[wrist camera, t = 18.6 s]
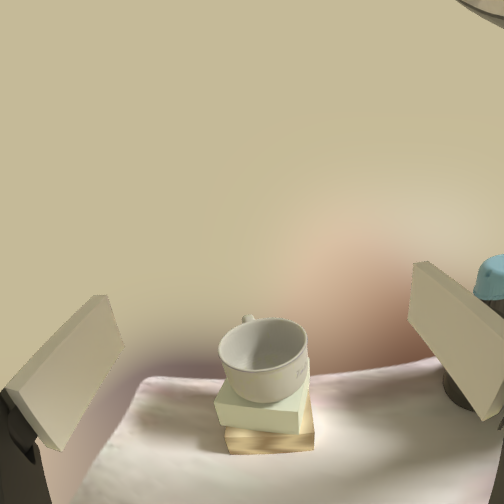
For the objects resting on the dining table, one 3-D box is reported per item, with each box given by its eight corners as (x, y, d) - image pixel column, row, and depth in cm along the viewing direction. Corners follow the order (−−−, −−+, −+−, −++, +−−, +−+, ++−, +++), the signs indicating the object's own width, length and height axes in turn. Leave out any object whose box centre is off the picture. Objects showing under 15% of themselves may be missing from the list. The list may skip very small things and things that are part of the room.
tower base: (307, 397, 46) (306, 376, 45) (313, 451, 35) (314, 432, 33) (237, 401, 47) (232, 381, 46) (230, 455, 36) (224, 437, 34)
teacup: (317, 406, 32) (317, 358, 30) (228, 420, 32) (215, 373, 29) (295, 345, 45) (292, 301, 43) (227, 355, 45) (218, 311, 43)
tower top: (309, 381, 43) (309, 357, 42) (298, 434, 33) (298, 411, 32) (243, 377, 46) (238, 353, 45) (220, 425, 36) (213, 402, 35)
